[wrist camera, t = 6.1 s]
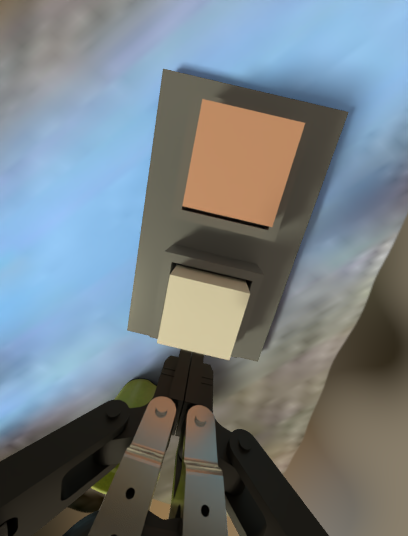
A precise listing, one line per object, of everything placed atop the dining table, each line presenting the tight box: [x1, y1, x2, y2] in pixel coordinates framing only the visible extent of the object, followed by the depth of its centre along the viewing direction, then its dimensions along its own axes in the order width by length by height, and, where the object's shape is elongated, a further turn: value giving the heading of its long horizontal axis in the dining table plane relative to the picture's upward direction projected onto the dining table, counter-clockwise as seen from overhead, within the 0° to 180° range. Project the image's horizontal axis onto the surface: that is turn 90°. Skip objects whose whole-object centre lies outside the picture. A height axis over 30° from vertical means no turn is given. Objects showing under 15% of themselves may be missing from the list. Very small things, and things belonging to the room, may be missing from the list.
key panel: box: [127, 69, 348, 361], centre depth 21 cm, size 16×26×5 cm, turn 167°
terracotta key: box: [182, 99, 305, 227], centre depth 16 cm, size 7×7×3 cm
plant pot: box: [91, 379, 160, 494], centre depth 26 cm, size 9×9×9 cm
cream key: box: [157, 265, 250, 360], centre depth 19 cm, size 7×7×3 cm
